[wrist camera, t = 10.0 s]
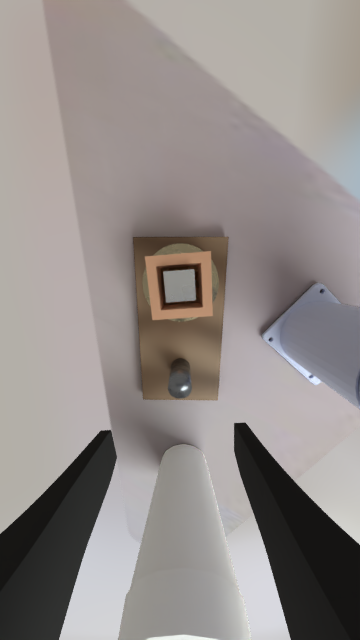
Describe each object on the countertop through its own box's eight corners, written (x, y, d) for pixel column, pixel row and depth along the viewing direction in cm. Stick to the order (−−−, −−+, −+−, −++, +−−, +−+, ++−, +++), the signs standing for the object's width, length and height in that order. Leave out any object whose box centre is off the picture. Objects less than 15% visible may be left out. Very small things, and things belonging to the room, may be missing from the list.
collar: (205, 256, 16) (210, 250, 13) (207, 309, 17) (212, 316, 14) (151, 260, 16) (144, 256, 13) (157, 313, 17) (152, 320, 14)
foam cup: (197, 493, 25) (213, 710, 12) (141, 473, 24) (96, 682, 12) (228, 449, 23) (284, 657, 10) (167, 425, 22) (147, 620, 10)
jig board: (216, 394, 21) (217, 400, 20) (145, 393, 21) (143, 399, 20) (225, 239, 16) (228, 236, 16) (136, 239, 17) (133, 237, 16)
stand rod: (194, 366, 19) (196, 387, 15) (181, 379, 19) (181, 402, 16) (179, 354, 18) (178, 373, 15) (166, 367, 19) (163, 389, 15)
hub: (217, 240, 16) (228, 228, 12) (219, 318, 17) (228, 329, 14) (138, 247, 16) (124, 237, 12) (147, 323, 18) (138, 335, 14)
